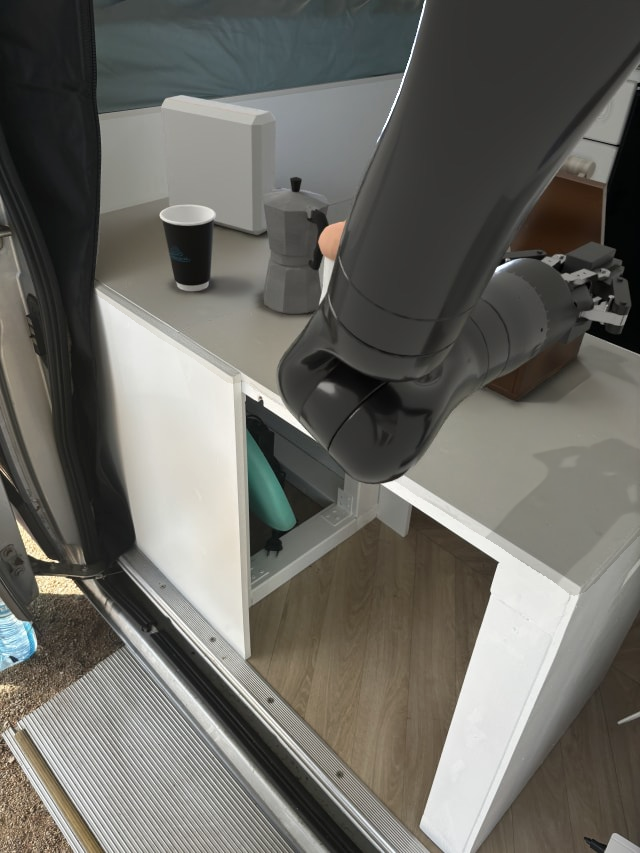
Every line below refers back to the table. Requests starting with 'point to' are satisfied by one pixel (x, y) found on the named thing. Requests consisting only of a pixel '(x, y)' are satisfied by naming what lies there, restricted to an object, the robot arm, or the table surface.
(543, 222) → the lid
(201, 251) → the dixie cup
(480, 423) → the table surface
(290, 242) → the coffeepot
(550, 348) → the chest
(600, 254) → the tall charcoal box
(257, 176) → the bevelled white case
